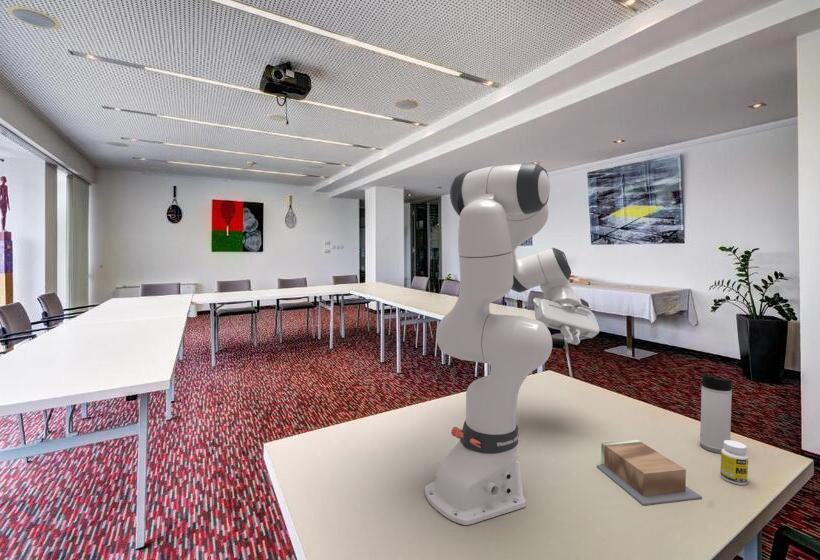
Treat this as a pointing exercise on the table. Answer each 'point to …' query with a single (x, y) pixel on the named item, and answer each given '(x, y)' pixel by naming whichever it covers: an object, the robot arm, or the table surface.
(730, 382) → the travel mug
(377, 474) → the table surface
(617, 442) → the walnut block
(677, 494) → the mat
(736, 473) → the supplement bottle
